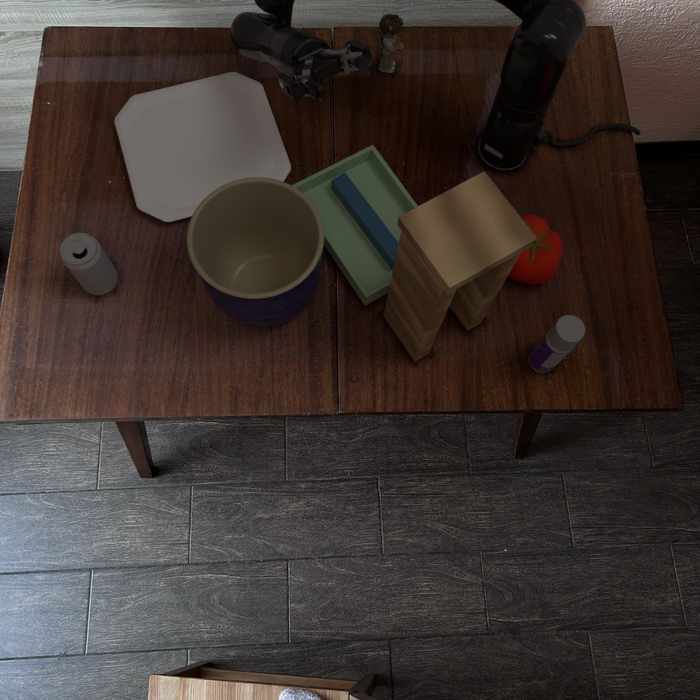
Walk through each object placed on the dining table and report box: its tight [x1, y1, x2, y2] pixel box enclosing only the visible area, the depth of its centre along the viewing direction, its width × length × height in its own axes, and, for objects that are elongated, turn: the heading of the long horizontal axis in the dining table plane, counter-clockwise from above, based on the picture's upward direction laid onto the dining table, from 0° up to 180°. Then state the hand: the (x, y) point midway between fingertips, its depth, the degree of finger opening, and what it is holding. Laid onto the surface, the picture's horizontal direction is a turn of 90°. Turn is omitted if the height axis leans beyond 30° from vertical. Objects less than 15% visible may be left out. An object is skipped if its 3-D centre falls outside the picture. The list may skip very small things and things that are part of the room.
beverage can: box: [59, 232, 119, 296], centre depth 116 cm, size 6×6×12 cm
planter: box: [186, 177, 325, 328], centre depth 113 cm, size 21×21×19 cm
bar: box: [331, 173, 399, 270], centre depth 125 cm, size 3×20×3 cm, turn 34°
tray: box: [292, 144, 419, 306], centre depth 125 cm, size 18×26×4 cm
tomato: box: [507, 213, 563, 286], centre depth 122 cm, size 13×12×8 cm
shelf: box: [383, 170, 537, 362], centre depth 106 cm, size 14×12×32 cm
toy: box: [376, 3, 406, 74], centre depth 132 cm, size 6×6×15 cm
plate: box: [114, 71, 292, 224], centre depth 130 cm, size 29×29×2 cm
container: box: [527, 314, 586, 374], centre depth 112 cm, size 5×5×15 cm
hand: (347, 81), depth 102 cm, fingers open, 8 cm apart
